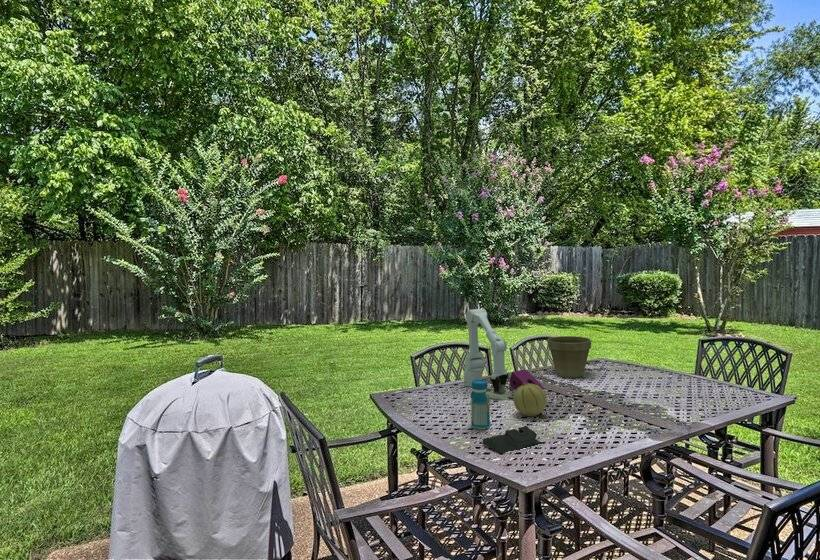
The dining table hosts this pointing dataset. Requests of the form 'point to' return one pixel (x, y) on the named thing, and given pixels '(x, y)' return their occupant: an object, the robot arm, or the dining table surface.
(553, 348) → the plant pot
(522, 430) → the dark slate chunk
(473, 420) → the beverage bottle
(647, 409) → the dining table surface
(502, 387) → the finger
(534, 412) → the cantaloupe
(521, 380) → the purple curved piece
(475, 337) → the robot arm
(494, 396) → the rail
